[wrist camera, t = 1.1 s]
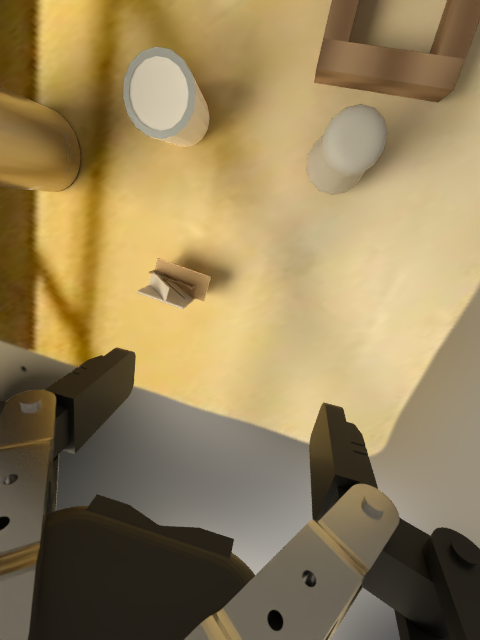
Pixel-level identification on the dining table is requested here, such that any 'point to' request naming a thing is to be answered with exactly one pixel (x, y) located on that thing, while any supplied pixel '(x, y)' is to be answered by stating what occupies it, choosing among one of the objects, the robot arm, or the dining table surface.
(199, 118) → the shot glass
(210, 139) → the dining table surface
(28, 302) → the dining table surface
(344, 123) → the salt shaker
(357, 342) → the dining table surface
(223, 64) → the dining table surface
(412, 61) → the socket
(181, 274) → the architectural model
